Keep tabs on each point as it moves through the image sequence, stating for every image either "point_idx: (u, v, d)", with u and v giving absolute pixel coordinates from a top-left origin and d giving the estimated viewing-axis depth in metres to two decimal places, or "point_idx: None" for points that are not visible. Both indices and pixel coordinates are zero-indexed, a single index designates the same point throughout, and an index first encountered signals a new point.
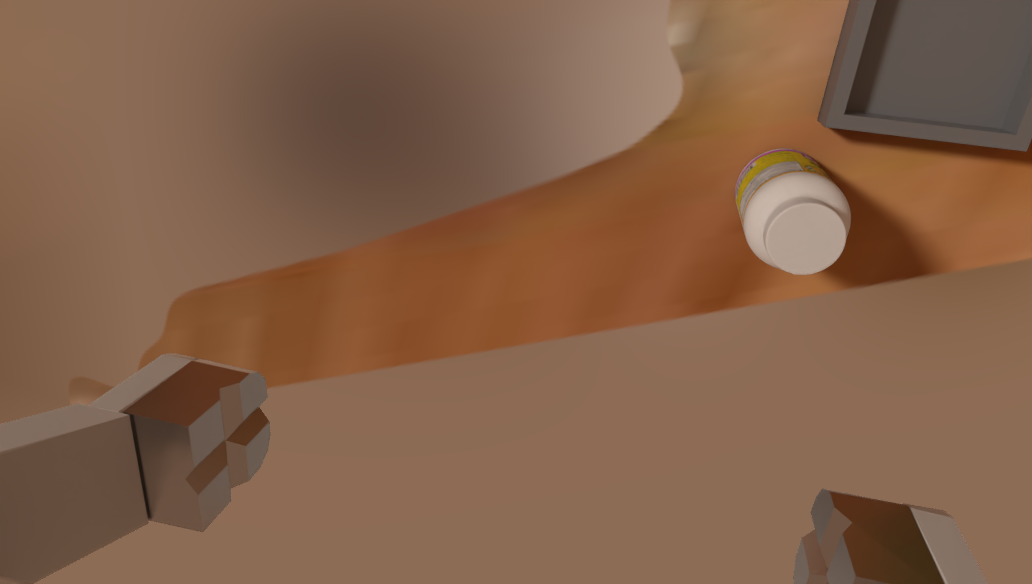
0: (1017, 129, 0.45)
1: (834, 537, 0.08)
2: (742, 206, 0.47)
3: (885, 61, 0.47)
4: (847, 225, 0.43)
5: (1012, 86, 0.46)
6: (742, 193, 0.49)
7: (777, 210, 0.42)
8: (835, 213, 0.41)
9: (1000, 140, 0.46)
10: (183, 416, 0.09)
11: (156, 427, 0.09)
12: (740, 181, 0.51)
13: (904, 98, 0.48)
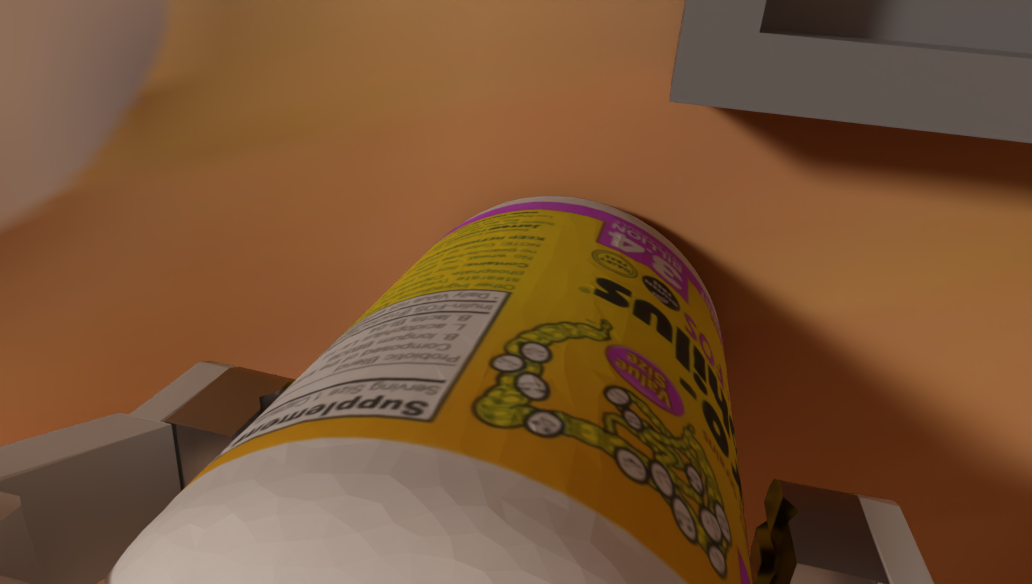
0: None
1: (783, 526, 0.08)
2: None
3: None
4: None
5: None
6: None
7: None
8: None
9: None
10: (225, 426, 0.09)
11: (198, 437, 0.09)
12: None
13: None
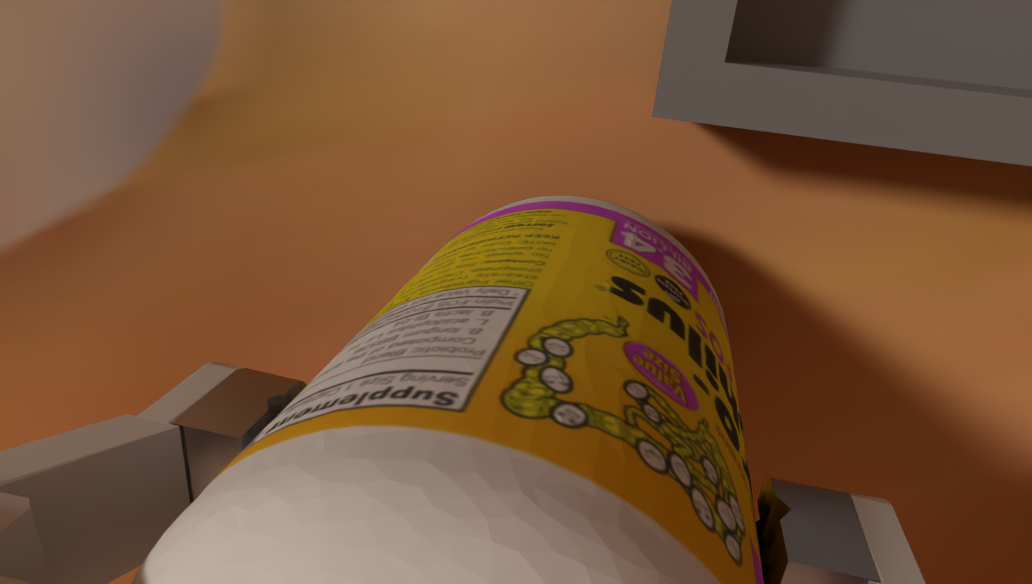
0: None
1: (775, 524, 0.08)
2: None
3: None
4: None
5: None
6: None
7: None
8: None
9: None
10: (233, 427, 0.09)
11: (206, 439, 0.09)
12: None
13: (976, 6, 0.12)
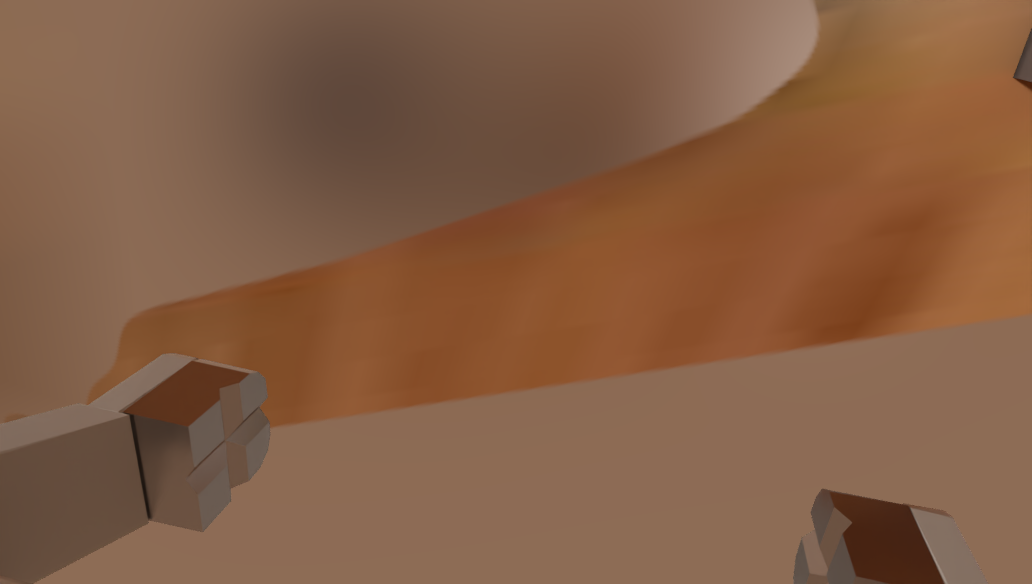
0: None
1: (834, 537, 0.08)
2: None
3: None
4: None
5: None
6: None
7: None
8: None
9: None
10: (183, 416, 0.09)
11: (156, 427, 0.09)
12: None
13: None
